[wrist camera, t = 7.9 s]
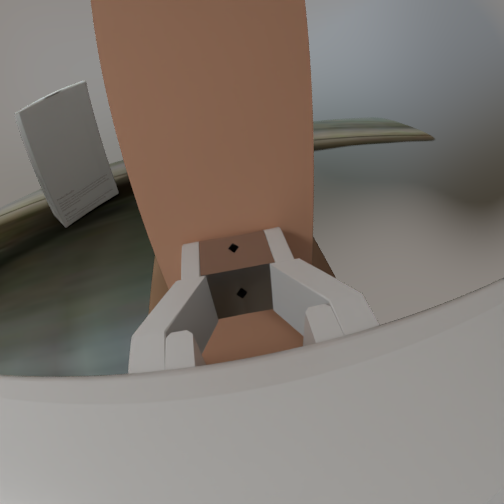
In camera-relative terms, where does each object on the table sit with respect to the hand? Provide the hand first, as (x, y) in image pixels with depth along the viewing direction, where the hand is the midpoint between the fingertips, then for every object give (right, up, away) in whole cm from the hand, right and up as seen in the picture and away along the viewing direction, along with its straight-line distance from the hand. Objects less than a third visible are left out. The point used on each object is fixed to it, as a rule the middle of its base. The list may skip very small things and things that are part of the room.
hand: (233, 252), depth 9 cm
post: (0, -4, +7) cm, 8 cm away
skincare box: (-20, +5, +23) cm, 31 cm away
